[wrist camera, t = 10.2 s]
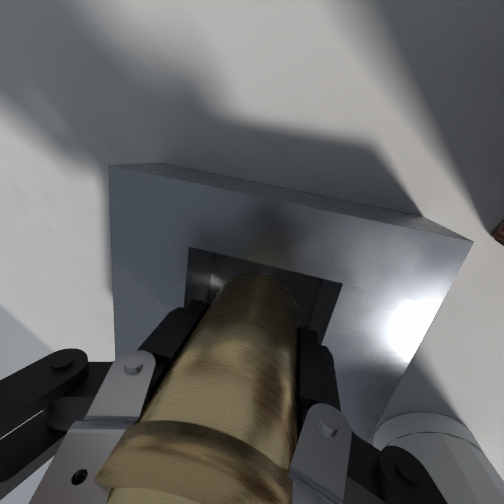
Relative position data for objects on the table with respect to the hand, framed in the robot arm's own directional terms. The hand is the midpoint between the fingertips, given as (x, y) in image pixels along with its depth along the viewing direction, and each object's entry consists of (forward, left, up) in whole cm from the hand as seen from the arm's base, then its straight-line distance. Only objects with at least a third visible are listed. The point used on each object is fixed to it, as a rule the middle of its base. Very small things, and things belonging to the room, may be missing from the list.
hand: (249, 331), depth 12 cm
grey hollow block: (0, 0, -4) cm, 4 cm away
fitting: (0, 0, -2) cm, 2 cm away
